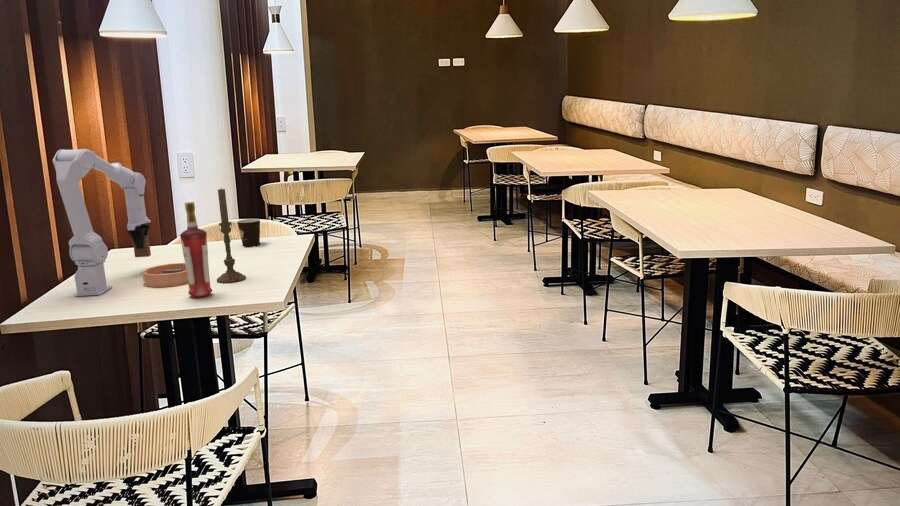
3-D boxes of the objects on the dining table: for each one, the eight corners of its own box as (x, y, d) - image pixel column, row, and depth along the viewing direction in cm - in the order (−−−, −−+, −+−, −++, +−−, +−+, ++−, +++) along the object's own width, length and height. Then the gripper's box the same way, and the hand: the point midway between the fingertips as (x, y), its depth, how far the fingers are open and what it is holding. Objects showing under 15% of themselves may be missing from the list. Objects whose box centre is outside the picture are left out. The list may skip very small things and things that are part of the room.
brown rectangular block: (148, 256, 247) (145, 236, 245) (135, 257, 246) (132, 237, 245) (150, 255, 249) (148, 235, 248) (137, 255, 249) (134, 235, 247)
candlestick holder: (216, 284, 229) (205, 189, 222) (217, 277, 237) (206, 186, 231) (246, 281, 231) (236, 187, 225) (246, 274, 240) (236, 184, 233)
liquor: (186, 294, 218) (175, 202, 212) (212, 291, 221) (201, 200, 215) (188, 300, 212) (176, 205, 206) (215, 296, 215) (203, 203, 209)
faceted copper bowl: (189, 285, 229) (187, 273, 228) (137, 288, 228) (135, 276, 227) (202, 273, 244) (201, 261, 243) (154, 276, 243) (152, 264, 243)
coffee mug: (239, 244, 290) (237, 219, 288) (261, 242, 292) (259, 217, 290) (240, 250, 279) (237, 224, 277) (263, 247, 282) (261, 222, 279)
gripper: (140, 210, 237) (146, 251, 240) (155, 204, 251) (160, 242, 254) (118, 211, 237) (124, 252, 240) (134, 205, 251) (139, 243, 254)
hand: (141, 247), depth 247 cm, fingers closed on brown rectangular block, 2 cm apart
